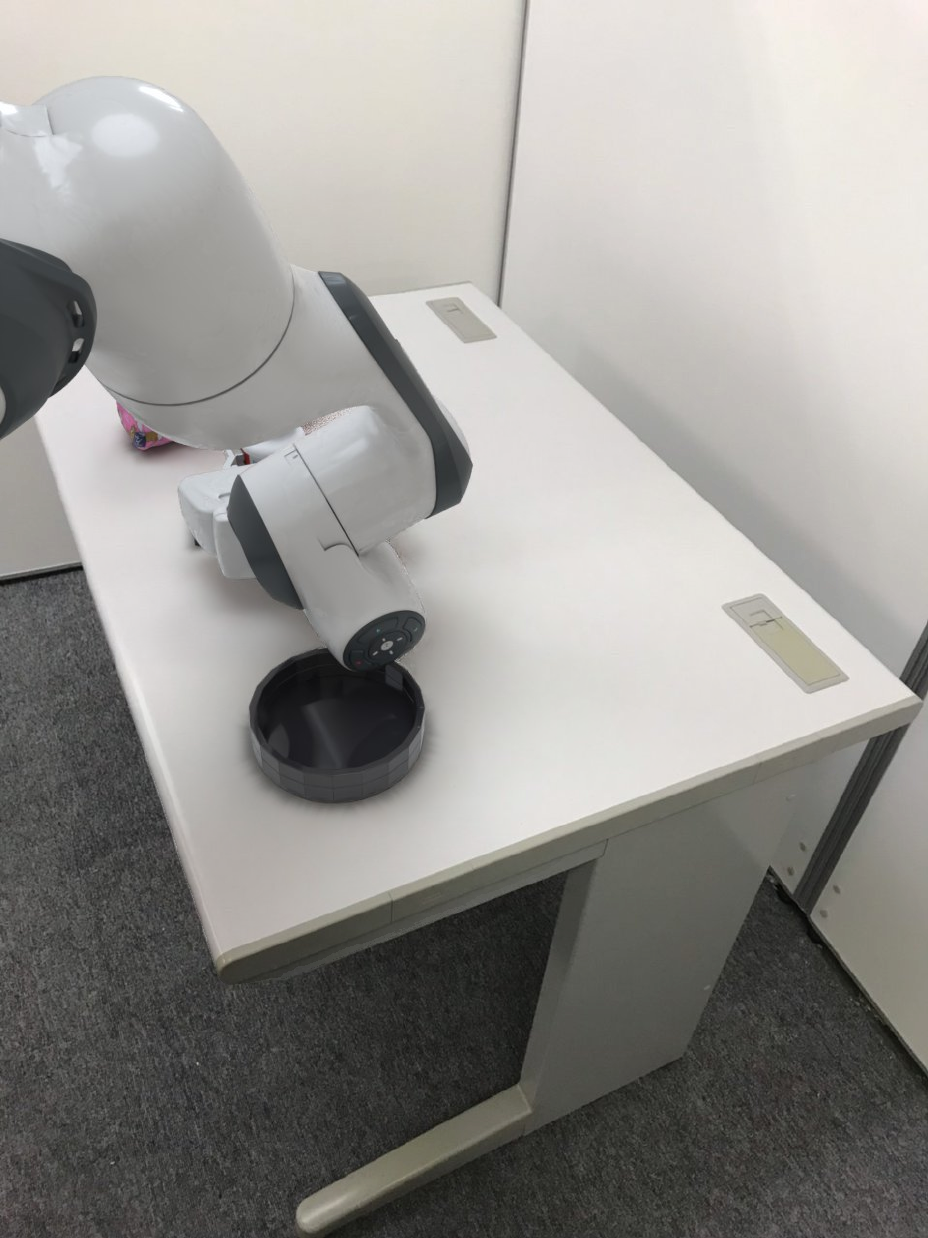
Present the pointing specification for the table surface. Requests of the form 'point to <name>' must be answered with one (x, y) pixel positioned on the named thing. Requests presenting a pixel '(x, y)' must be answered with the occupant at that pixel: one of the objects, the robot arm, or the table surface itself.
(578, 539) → the table surface
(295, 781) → the pan
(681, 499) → the table surface
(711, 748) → the table surface
